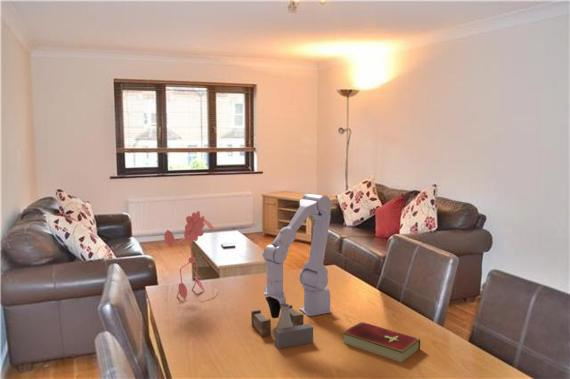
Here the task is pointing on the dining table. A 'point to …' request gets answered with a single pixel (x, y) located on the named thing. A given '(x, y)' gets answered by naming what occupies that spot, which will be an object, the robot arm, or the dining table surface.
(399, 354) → the hardcover book
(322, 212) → the robot arm
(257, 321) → the housing
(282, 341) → the stop
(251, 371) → the dining table surface
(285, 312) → the flask
